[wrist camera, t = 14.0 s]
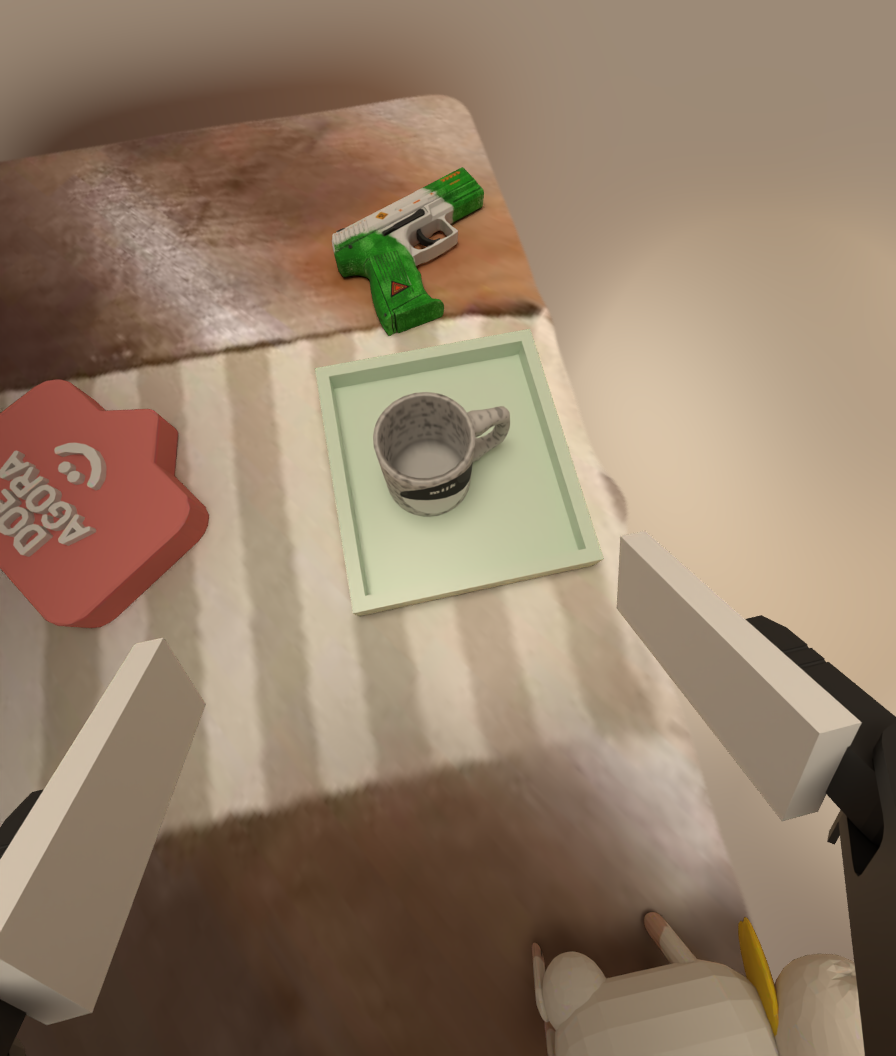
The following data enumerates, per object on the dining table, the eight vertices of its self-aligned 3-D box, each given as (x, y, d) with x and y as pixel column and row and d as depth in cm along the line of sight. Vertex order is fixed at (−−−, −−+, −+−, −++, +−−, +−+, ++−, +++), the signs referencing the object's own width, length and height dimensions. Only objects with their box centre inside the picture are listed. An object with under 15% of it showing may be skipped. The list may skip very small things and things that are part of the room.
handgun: (539, 241, 40) (460, 158, 43) (391, 326, 37) (316, 231, 40) (532, 268, 43) (458, 189, 45) (394, 349, 40) (324, 259, 43)
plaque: (227, 479, 33) (53, 638, 29) (249, 497, 36) (97, 640, 33) (79, 341, 36) (-91, 472, 33) (114, 371, 40) (-36, 490, 36)
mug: (407, 530, 34) (398, 501, 28) (373, 458, 36) (357, 415, 30) (523, 477, 35) (539, 438, 29) (484, 410, 37) (492, 359, 31)
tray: (322, 385, 39) (314, 368, 36) (525, 347, 40) (530, 328, 37) (359, 616, 33) (352, 613, 31) (593, 565, 34) (603, 558, 32)
